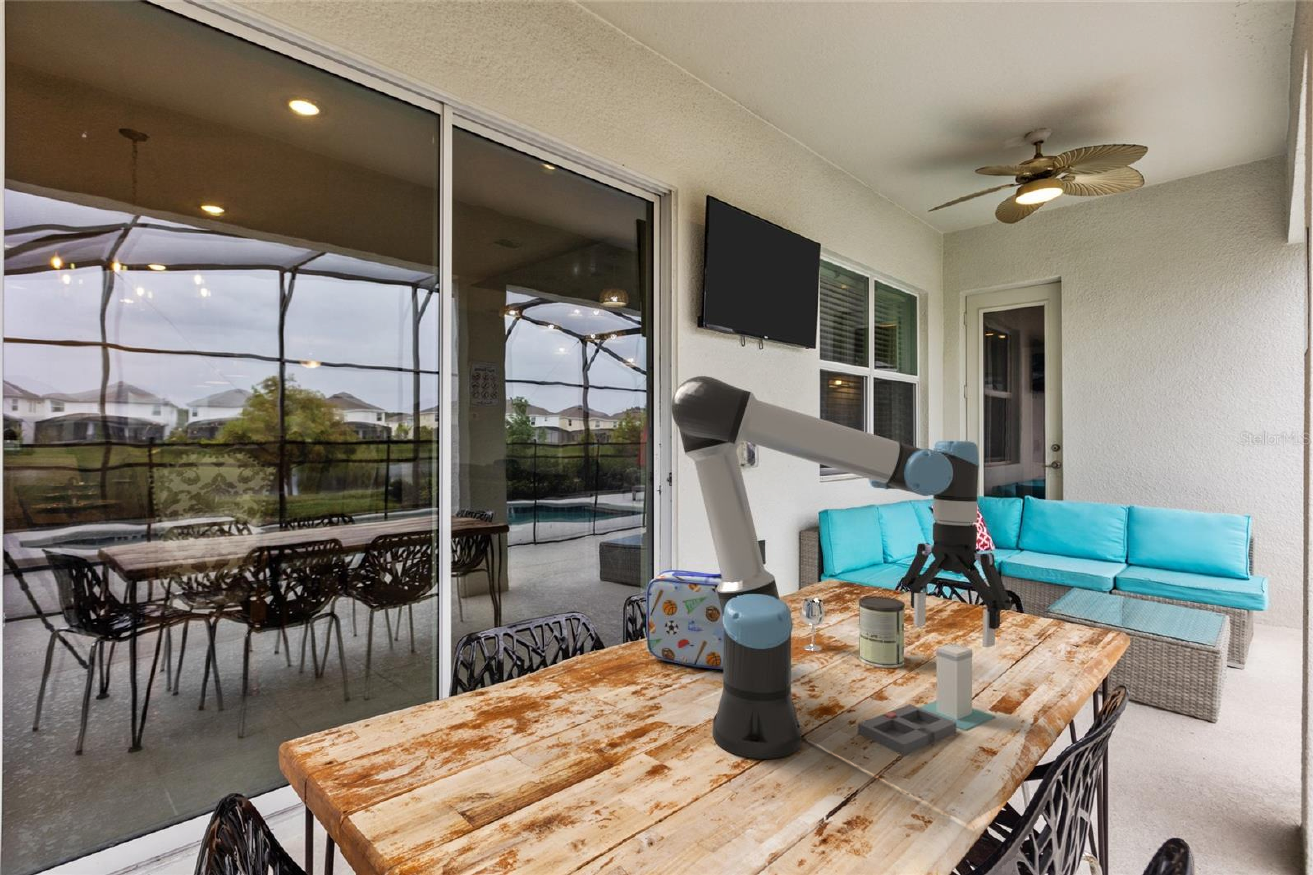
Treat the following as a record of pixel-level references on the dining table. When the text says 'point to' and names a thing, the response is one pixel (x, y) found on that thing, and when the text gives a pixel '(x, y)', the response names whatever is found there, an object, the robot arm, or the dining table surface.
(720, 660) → the lunch box
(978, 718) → the pad
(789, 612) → the robot arm
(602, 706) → the dining table surface
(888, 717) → the power strip
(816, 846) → the dining table surface
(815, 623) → the wineglass
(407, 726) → the dining table surface
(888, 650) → the coffee can
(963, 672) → the block
